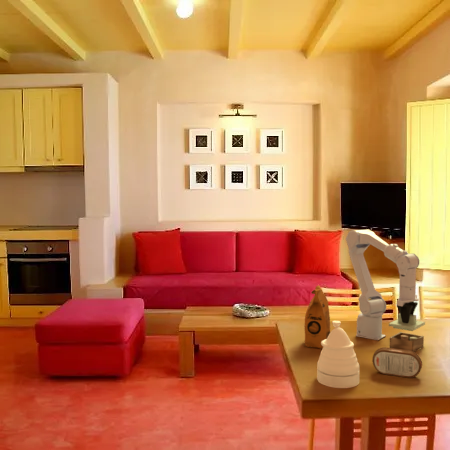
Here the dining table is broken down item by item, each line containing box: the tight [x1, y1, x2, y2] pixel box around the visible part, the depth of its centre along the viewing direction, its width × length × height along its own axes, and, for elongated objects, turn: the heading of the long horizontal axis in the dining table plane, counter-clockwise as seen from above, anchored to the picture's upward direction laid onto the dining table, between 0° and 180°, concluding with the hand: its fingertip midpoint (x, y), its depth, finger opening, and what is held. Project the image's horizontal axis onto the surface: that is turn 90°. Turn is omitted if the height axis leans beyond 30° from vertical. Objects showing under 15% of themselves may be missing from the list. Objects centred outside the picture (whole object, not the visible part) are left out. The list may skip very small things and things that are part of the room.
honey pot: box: [316, 320, 360, 389], centre depth 156 cm, size 13×13×18 cm
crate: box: [389, 331, 425, 353], centre depth 189 cm, size 9×10×4 cm
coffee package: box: [303, 285, 331, 349], centre depth 194 cm, size 10×12×22 cm
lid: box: [388, 313, 426, 332], centre depth 189 cm, size 10×11×5 cm
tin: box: [371, 346, 423, 379], centre depth 160 cm, size 15×3×8 cm, turn 64°
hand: (406, 321), depth 189 cm, fingers closed on lid, 2 cm apart
